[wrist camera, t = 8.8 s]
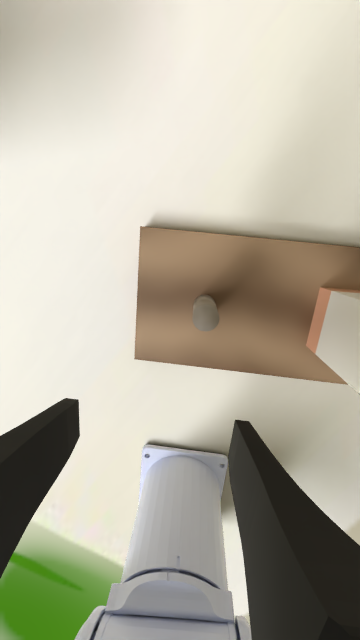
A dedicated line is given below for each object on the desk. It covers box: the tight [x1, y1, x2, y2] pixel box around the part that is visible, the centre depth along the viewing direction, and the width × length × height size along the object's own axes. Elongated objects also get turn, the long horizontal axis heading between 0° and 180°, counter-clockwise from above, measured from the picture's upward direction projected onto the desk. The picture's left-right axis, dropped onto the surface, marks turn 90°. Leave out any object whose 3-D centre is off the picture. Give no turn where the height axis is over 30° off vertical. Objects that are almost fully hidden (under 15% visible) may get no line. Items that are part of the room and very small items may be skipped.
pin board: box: [135, 226, 360, 385], centre depth 16 cm, size 10×20×4 cm, turn 84°
